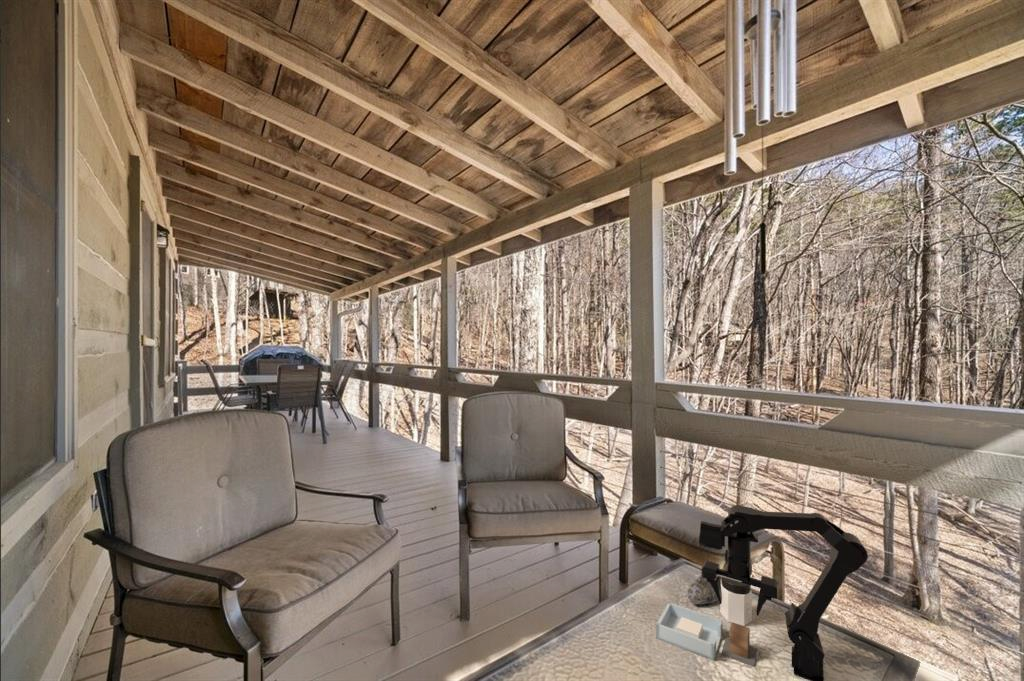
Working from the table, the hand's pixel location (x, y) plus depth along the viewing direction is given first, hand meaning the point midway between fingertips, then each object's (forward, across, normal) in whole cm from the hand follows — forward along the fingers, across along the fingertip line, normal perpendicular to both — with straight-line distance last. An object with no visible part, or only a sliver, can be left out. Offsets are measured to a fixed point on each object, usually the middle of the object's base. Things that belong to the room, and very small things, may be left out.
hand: (738, 609), depth 121 cm
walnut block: (+12, 0, 0) cm, 12 cm away
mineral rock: (+12, +14, -22) cm, 28 cm away
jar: (+12, +3, -17) cm, 21 cm away
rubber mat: (+12, 0, 0) cm, 12 cm away
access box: (+12, +13, +1) cm, 18 cm away
